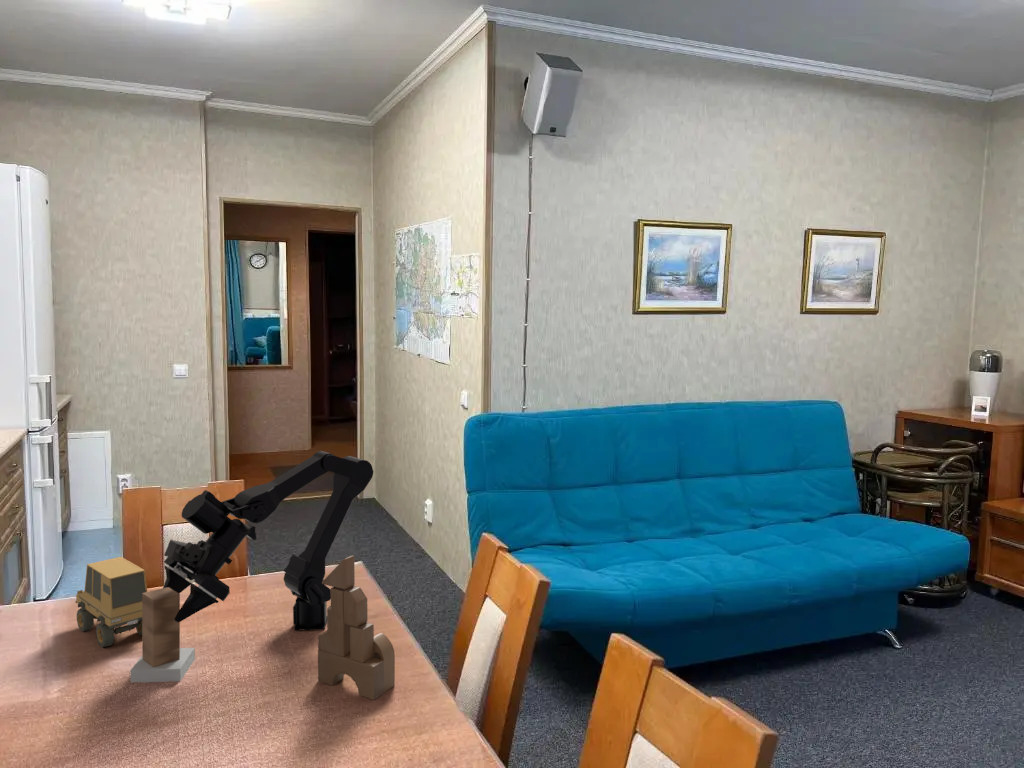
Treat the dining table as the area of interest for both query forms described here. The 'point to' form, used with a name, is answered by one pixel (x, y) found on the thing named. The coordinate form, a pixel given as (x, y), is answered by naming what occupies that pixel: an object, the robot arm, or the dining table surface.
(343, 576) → the wooden toy
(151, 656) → the walnut block
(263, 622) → the dining table surface
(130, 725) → the dining table surface
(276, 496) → the robot arm
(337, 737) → the dining table surface
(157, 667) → the grey block
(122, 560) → the toy car
